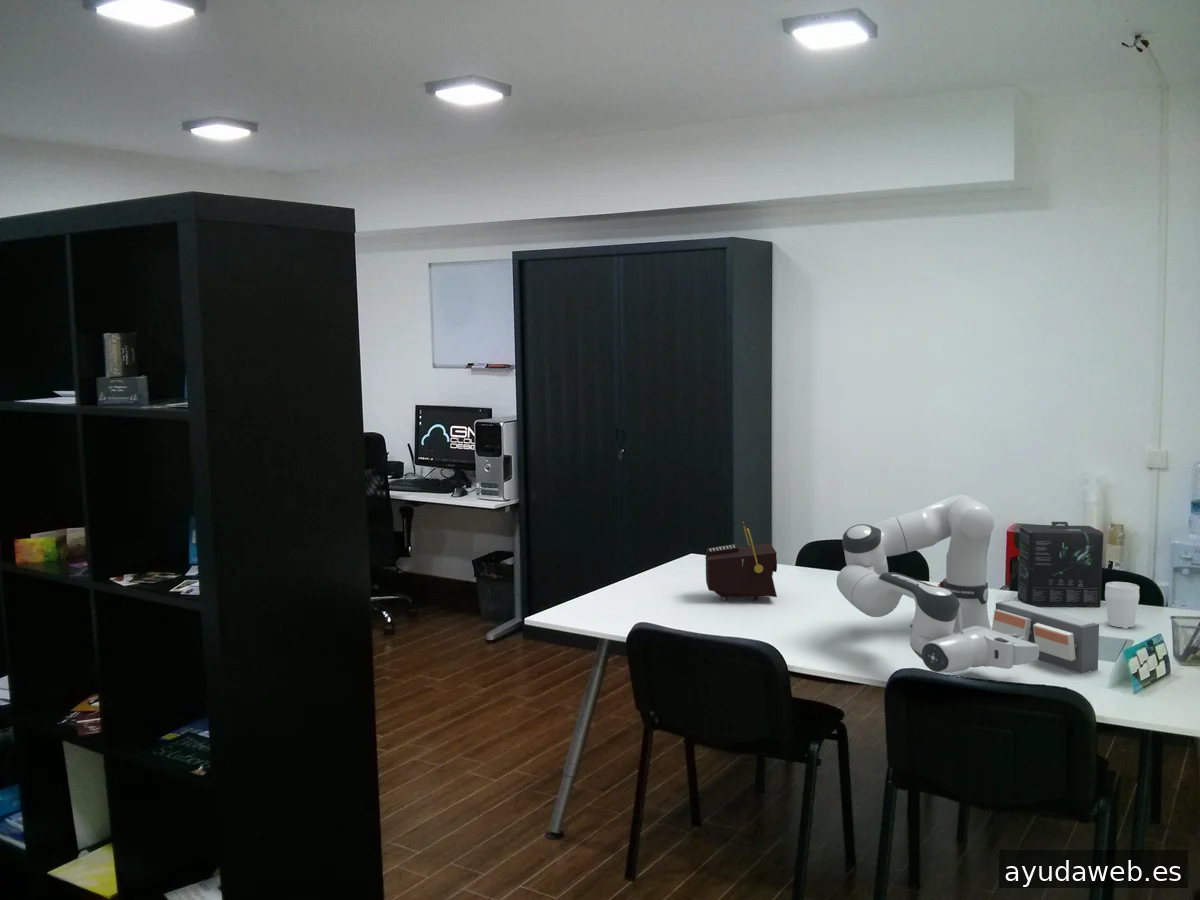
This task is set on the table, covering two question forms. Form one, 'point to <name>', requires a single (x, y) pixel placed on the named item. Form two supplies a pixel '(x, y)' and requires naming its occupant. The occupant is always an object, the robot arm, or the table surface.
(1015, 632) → the block
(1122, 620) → the cup
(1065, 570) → the headset box
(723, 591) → the dark brown boxy piece
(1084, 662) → the switch block
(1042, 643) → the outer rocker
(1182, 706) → the table surface
